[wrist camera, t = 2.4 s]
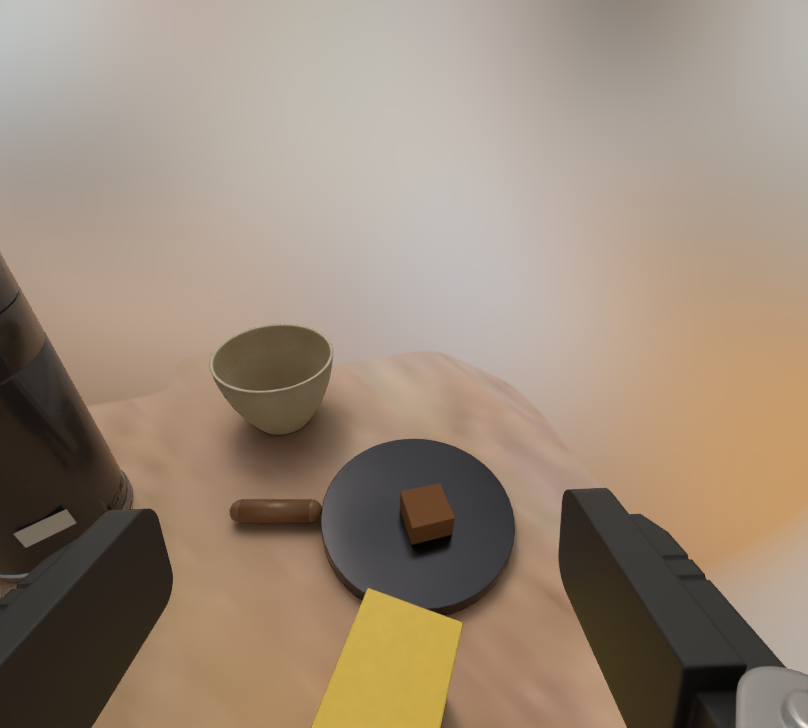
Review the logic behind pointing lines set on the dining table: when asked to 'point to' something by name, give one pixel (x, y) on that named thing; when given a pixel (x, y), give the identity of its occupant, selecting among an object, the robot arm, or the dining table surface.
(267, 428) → the beige bowl
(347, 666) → the sponge
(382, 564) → the pan
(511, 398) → the dining table surface
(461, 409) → the dining table surface
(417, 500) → the brown small block
